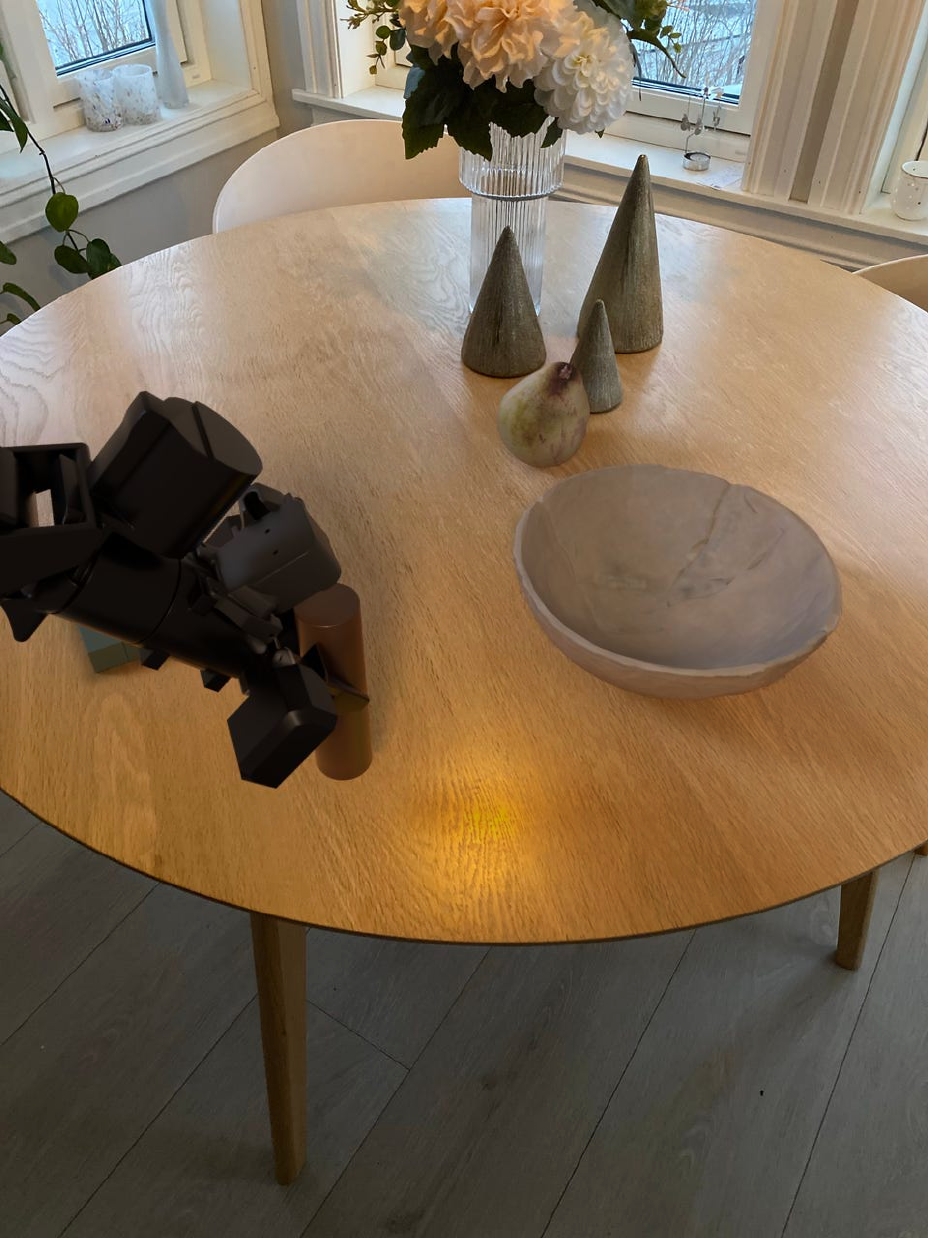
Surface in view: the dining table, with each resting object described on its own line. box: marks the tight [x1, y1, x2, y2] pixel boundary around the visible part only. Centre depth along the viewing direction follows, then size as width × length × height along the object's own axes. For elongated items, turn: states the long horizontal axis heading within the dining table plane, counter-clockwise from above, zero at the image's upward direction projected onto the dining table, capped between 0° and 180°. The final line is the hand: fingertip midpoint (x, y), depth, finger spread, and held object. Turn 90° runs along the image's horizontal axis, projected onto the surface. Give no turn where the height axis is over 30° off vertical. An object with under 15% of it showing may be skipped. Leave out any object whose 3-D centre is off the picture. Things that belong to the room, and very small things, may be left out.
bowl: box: [512, 463, 843, 701], centre depth 80 cm, size 26×26×10 cm
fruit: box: [496, 361, 591, 468], centre depth 100 cm, size 10×9×12 cm
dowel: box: [293, 582, 374, 782], centre depth 63 cm, size 4×4×15 cm
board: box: [76, 624, 140, 674], centre depth 85 cm, size 12×12×2 cm
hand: (356, 681), depth 63 cm, fingers closed on dowel, 4 cm apart
